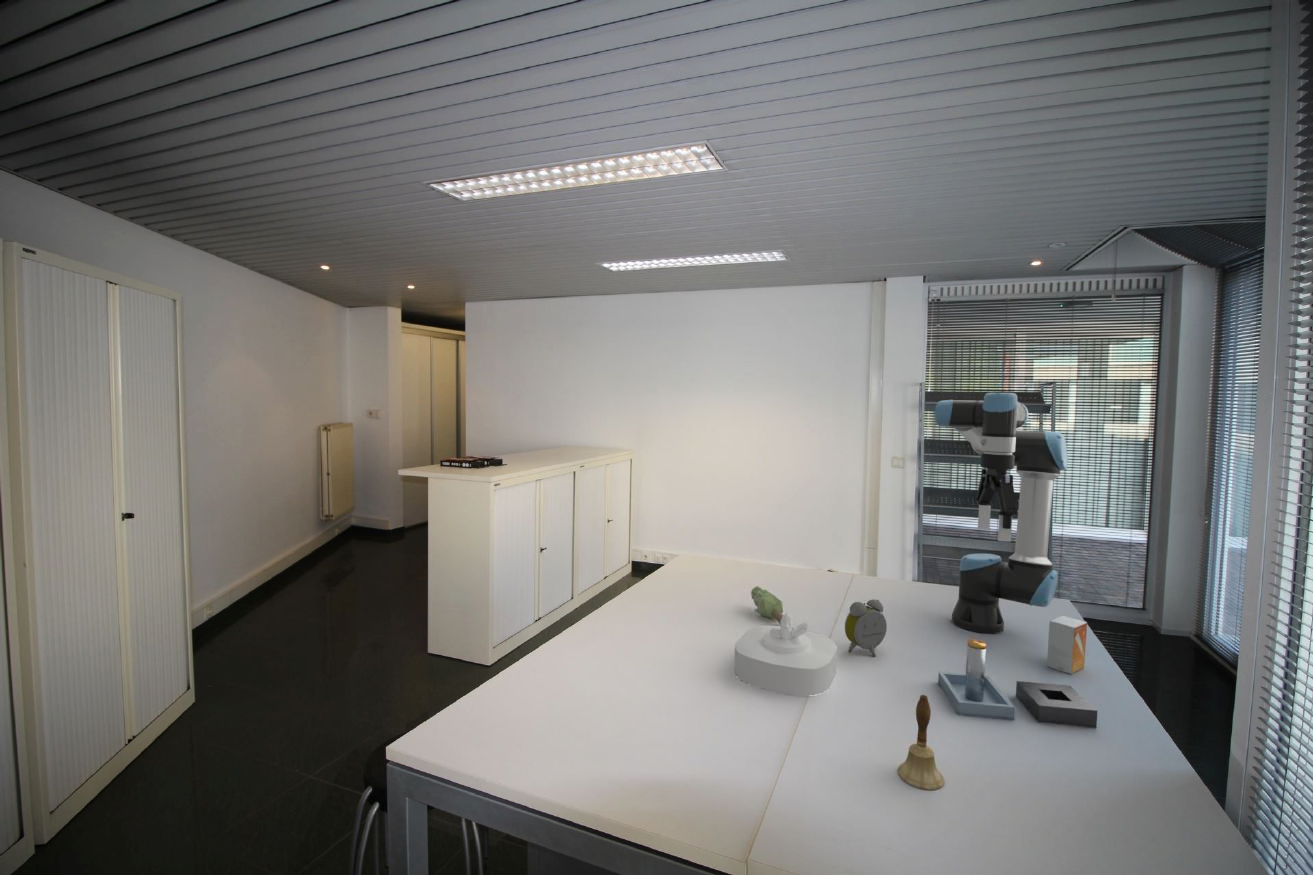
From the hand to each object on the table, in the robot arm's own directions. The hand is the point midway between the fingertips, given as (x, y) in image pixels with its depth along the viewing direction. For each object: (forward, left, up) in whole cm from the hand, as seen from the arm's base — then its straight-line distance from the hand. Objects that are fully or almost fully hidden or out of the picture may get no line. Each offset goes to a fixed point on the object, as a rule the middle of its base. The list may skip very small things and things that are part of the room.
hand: (993, 535), depth 154 cm
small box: (-13, +25, -39) cm, 48 cm away
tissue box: (+5, -52, -39) cm, 65 cm away
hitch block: (+14, +10, -39) cm, 42 cm away
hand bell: (+46, -28, -39) cm, 66 cm away
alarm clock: (-12, -28, -39) cm, 49 cm away
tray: (+12, -7, -39) cm, 41 cm away
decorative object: (-34, -54, -39) cm, 75 cm away
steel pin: (+12, -7, -38) cm, 40 cm away
